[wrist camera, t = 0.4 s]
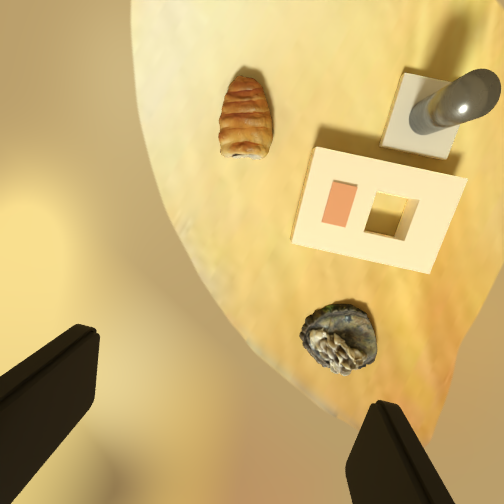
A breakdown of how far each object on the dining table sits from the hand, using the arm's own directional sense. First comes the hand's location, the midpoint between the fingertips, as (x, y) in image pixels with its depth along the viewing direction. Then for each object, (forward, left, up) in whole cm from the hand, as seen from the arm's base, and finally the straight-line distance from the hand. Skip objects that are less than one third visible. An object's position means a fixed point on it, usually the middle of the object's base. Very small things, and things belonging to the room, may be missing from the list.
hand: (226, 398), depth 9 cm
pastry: (-13, -5, -30) cm, 33 cm away
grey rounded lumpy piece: (+13, +15, -30) cm, 36 cm away
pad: (-18, +16, -30) cm, 38 cm away
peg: (-18, +16, -28) cm, 37 cm away
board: (-6, +13, -30) cm, 33 cm away
